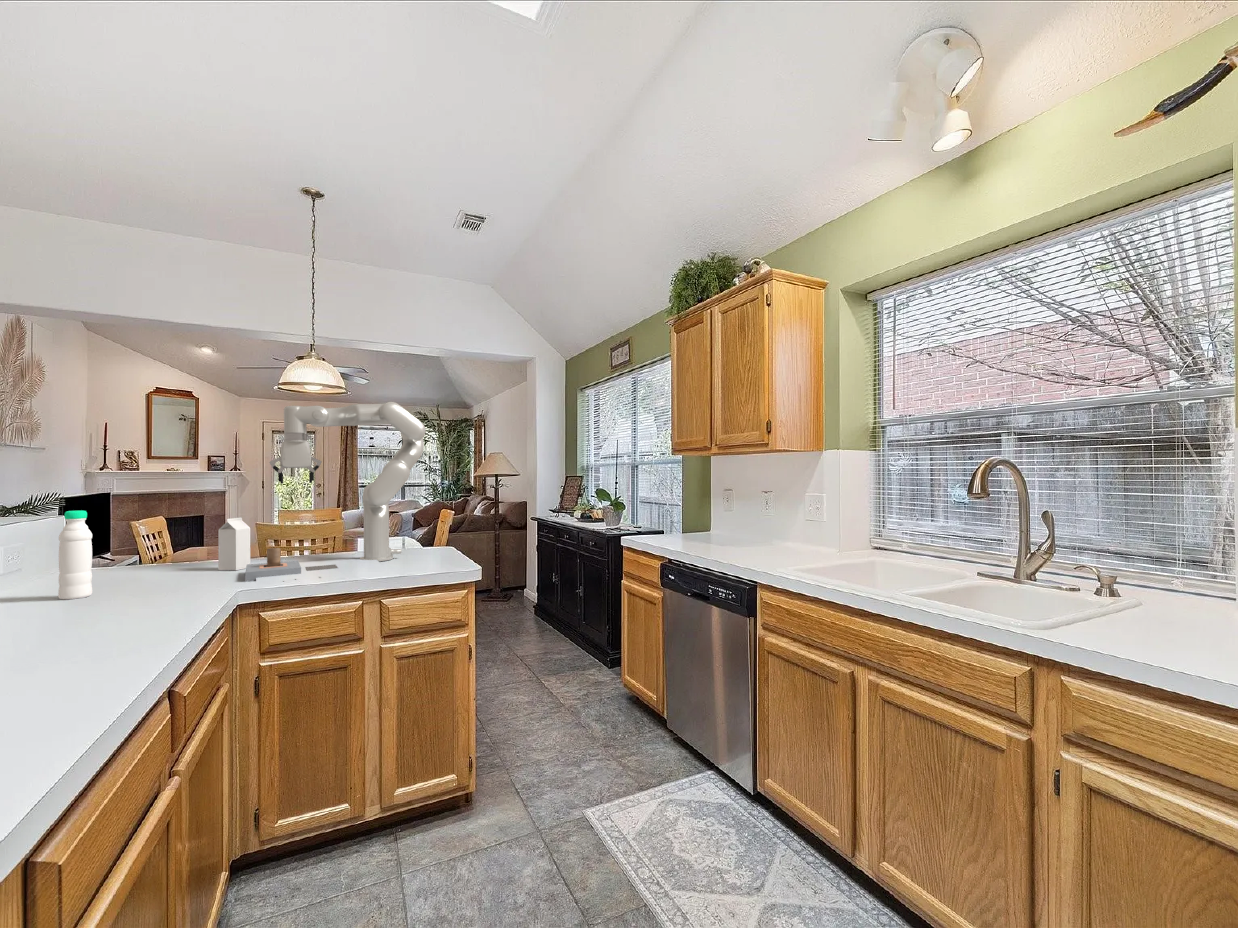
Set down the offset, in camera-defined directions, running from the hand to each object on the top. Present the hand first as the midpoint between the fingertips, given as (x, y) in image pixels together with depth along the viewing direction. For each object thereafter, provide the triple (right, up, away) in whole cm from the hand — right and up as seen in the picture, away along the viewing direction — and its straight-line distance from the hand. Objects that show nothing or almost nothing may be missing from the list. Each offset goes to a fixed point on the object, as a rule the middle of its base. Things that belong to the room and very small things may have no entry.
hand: (296, 483), depth 217 cm
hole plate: (+2, -31, -18) cm, 36 cm away
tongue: (+15, -31, -10) cm, 36 cm away
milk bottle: (-34, -31, -53) cm, 70 cm away
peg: (+2, -31, -18) cm, 36 cm away
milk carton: (-20, -32, -5) cm, 38 cm away
